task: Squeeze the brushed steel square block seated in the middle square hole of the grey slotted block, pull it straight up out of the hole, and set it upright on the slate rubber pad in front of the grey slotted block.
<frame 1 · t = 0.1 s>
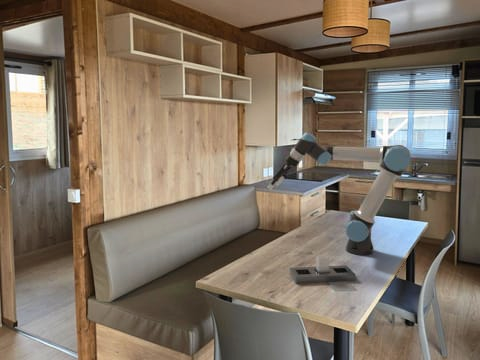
hand: (272, 186, 235), 36 cm above the table, tool tilted 35°, fingers open, 13 cm apart
slate pad: (342, 288, 184), on the table
steel block: (321, 277, 194), point 1 cm above the table, touching grey slotted block
grey slotted block: (321, 279, 194), on the table
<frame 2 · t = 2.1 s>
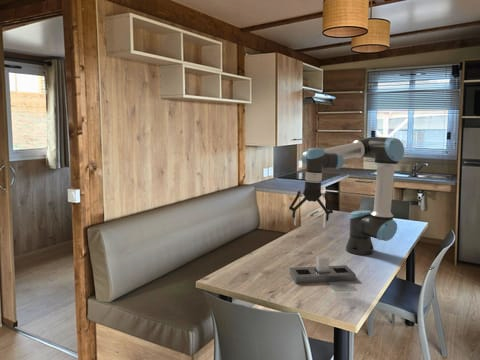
hand: (309, 226, 195), 24 cm above the table, tool pointing down, fingers open, 13 cm apart
nothing on the table moved.
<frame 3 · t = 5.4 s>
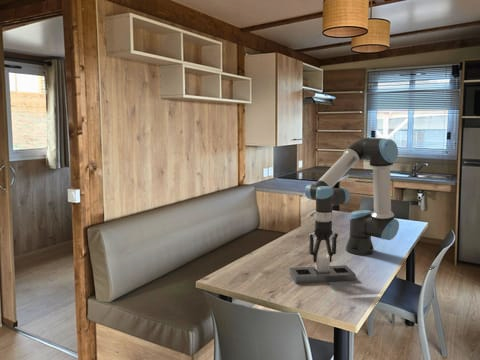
hand: (322, 268, 193), 5 cm above the table, tool pointing down, fingers closed on steel block, 5 cm apart
steel block: (321, 277, 194), point 1 cm above the table, touching gripper, grey slotted block
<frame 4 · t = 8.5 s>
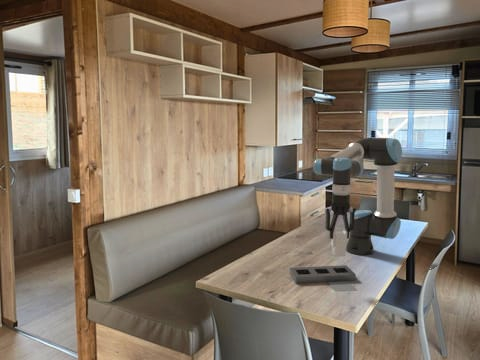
hand: (338, 245, 183), 19 cm above the table, tool pointing down, fingers closed on steel block, 5 cm apart
steel block: (338, 254, 184), point 15 cm above the table, touching gripper
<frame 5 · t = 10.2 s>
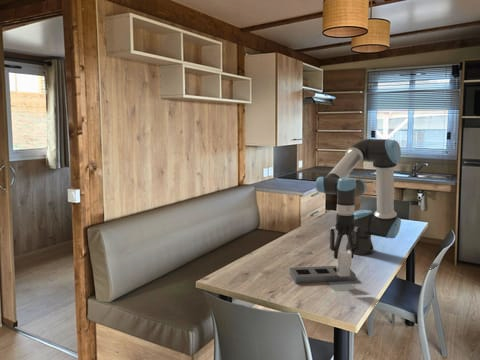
hand: (343, 265, 182), 11 cm above the table, tool pointing down, fingers closed on steel block, 5 cm apart
steel block: (342, 274, 183), point 7 cm above the table, touching gripper
when the fingers open (6 cm above the table, at t = 11.7 s): steel block stays where it is, resting on slate pad.
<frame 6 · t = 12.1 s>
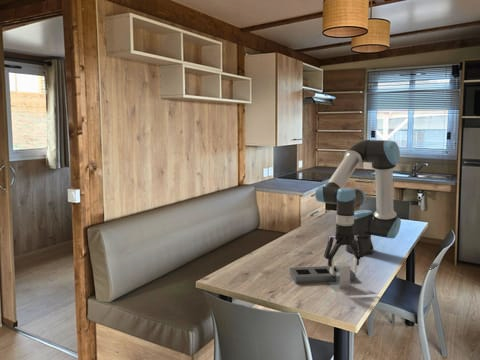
hand: (343, 272, 183), 7 cm above the table, tool pointing down, fingers open, 10 cm apart
steel block: (342, 286, 184), point 1 cm above the table, touching slate pad
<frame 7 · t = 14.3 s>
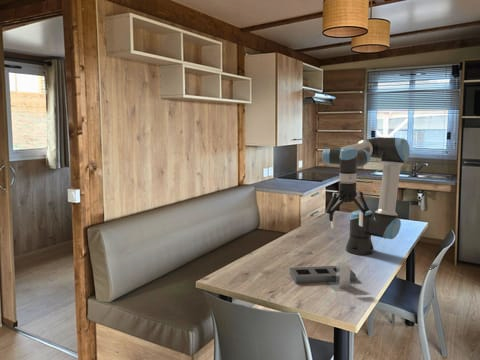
hand: (346, 226, 192), 25 cm above the table, tool pointing down, fingers open, 13 cm apart
nothing on the table moved.
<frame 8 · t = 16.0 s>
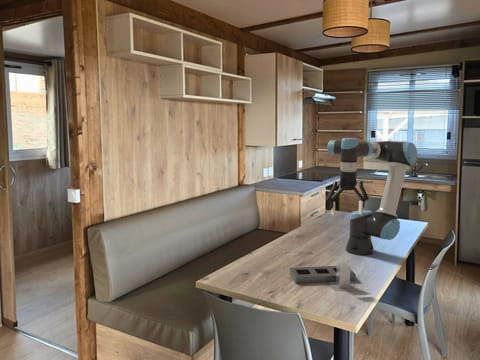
hand: (346, 214, 199), 29 cm above the table, tool pointing down, fingers open, 13 cm apart
nothing on the table moved.
at the end: steel block inside the target area on the slate pad (0.1 cm from its centre), point 1.0 cm above the slate pad's base; steel block tilted 0°; the gripper is holding nothing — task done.
